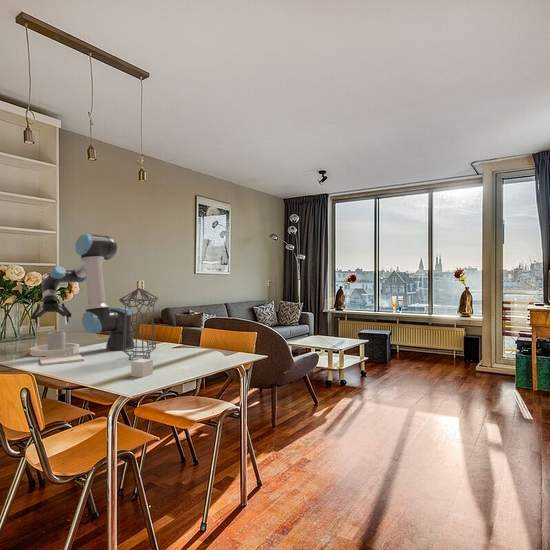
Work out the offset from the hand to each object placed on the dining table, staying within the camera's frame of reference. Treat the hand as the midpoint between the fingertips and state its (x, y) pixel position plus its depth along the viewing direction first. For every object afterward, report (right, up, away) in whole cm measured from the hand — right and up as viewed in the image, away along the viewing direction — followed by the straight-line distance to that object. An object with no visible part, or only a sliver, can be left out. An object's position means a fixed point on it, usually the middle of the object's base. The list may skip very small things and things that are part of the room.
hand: (52, 326), depth 229 cm
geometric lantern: (+58, -13, -27) cm, 65 cm away
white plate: (+5, -13, -7) cm, 16 cm away
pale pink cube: (+70, -12, -61) cm, 94 cm away
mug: (+5, -13, -7) cm, 16 cm away
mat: (+20, -13, -29) cm, 37 cm away
